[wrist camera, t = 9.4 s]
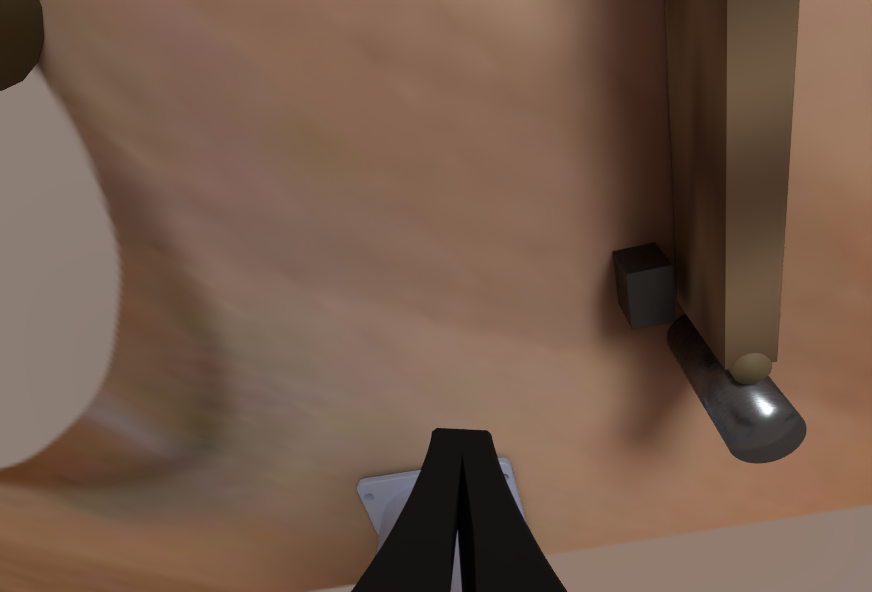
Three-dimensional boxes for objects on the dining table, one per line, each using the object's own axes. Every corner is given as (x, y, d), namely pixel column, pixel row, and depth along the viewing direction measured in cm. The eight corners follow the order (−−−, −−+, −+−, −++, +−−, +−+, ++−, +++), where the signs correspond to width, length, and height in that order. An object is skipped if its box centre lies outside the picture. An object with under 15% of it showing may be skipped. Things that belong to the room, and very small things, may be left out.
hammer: (726, 352, 23) (803, 457, 18) (626, 369, 24) (672, 475, 18) (723, -389, 13) (902, -656, 8) (547, -321, 13) (599, -523, 8)
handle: (719, 309, 22) (777, 380, 18) (678, 316, 22) (726, 388, 18) (719, -54, 16) (806, -72, 12) (662, -38, 16) (729, -50, 12)
